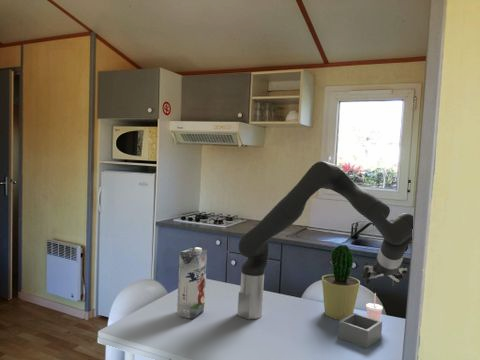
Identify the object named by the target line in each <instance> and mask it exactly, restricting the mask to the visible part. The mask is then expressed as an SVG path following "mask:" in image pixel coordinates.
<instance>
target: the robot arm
mask: <svg viewBox="0 0 480 360" xmlns="http://www.w3.org/2000/svg"><path fill="white" fill-rule="evenodd" d="M320 189H326V190H330V191H333V192H335V193H337V194H339V195H341V196H342V197H343V198H344V199H346V200H347V201H348V203H349V204H350V205H351V207H353V209H354V210H356V211H357V212H358V213H359V214H360V215H362V216H363V217H364V218H365V219H367V220H368V221H369V222H371V223H372V225H373V226H374V227H375V228H376V230H377V231H378V233H380V234H381V236H382V237H383V240H382V242H381V246H380V248H379V250H378V253H377V256H376V259H375V262H374V264H373V265H369V263H368V262H367V263H366V262H365V263H364V265H363V267H362V270H361V278H362V279H365V283H367V285H371V281H372V279H377V278H379V277H380V278H381V277H385V278H390V279H392V280H391V285H392V287H396V286H398V284H399V282H400V281H401V282H405V281H406V280H407V276H408V268H407V266H406V265H404V266H402V267H401V265H402V263H403V260H404V254H405V252H406V249H407V247H408V246H409V244H411V242H412V241H413V239H412V229H413V216H414V215H413V214H411V213H409V212H403V213H400V214H398V215H397V216H395V217H393V218H392V219H391V220H388V217H389V216H390V213H391V208H390V207H389V206H388V205H387V204H386V203H385V202H383V201H382V200H380V199H379V198H377V196H374V195H373V194H371V193H370V192H368V191H367V190H365V188H363V187H361V186H360V185H359V184H357V183H356V182H355V181H354V180H353V179H351V178H350V177H349V176H348V174H346V172H345V171H343V170H342V168H340V167H339V166H338V165H337V164H335V163H332V162H328V161H322V160H321V161H317V162H315V163H314V164H312V165H311V167H310V168H309V169H308V170H307V171H306V172H305V174H304V175H303V176H302V178H301V179H300V180H299V181H298V182H297V183H296V185H295V186H294V187H293V188H292V189H291V190H289V192H288V193H287V194H286V195H285V196H284V197H282V199H281V200H280V201H279V202H278V203H276V205H274V206H273V208H271V210H270V211H269V212H268V213H267V214H266V215H265V216H264V217H263V218H262V219H261V221H259V223H257V224H256V225H255V226H254V227H253V228H251V229H250V230H249V231H248V232H246V233H245V234H244V235H243V236H242V237H241V238H240V240H239V242H238V251H239V253H240V254H241V255H242V257H245V258H247V259H246V261H245V262H244V263H243V264H242V265H241V271H240V272H241V273H240V274H241V275H240V291H239V292H238V298H237V299H238V303H237V316H239V317H240V318H244V319H246V320H256V319H260V318H261V317H262V316H263V301H264V283H265V272H266V271H265V270H266V268H267V265H268V255H269V240H270V239H271V238H273V237H275V236H277V235H278V234H280V233H282V232H283V231H285V230H286V229H288V228H289V227H291V226H292V225H293V224H294V223H295V222H296V221H297V220H298V219H299V218H300V217H301V216H302V214H303V212H304V210H305V206H306V204H307V202H308V200H309V199H311V197H312V196H314V195H315V193H317V192H318V191H319V190H320ZM399 273H400V274H399Z"/></svg>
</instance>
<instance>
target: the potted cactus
mask: <svg viewBox="0 0 480 360" xmlns="http://www.w3.org/2000/svg"><path fill="white" fill-rule="evenodd" d="M330 252H331V255H330V260H329V261H330V262H329V263H330V265H331V268H333V269H332V270H330V271H331V272H332V273H333V274H326V275H325V274H324V275H322V276H321V285H322V294H323V307H324V314H325V316H327V317H328V316H329V318H330V317H331V318H330V319H333V318H334V320H338V319H339V321H340V320H342V319H344V318H346V317H348V316H349V315H351V314H353V313H355V312H354V310H355V306H356V304H357V303H356V302H357V298H358V294H359V288H360V284H361V281H360V280H359V279H358V278H355V277H352V276H350V275H351V270H352V268H353V266H354V257H353V256H354V255H353V251H351V249H350V247H349V245H345V244H343V245H342V244H339V245H338V244H337V245H336V247H334V248H333V250H332V251H330Z"/></svg>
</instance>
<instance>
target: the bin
mask: <svg viewBox="0 0 480 360" xmlns="http://www.w3.org/2000/svg"><path fill="white" fill-rule="evenodd" d="M337 330H338V332H337V333H338V334H337V338H339V339H341V340H344V341H346V342H350V343H351V344H353V345H357V346H359V347H362V348H365V349H368V348H370V347H371V346H372V345H373V344H375V343H376V342H377V341H379V340H380V339H382V331H383V321H381V320H380V321H378V320H375V319H372V318H369V317H367V316H365V315H362V314H359V313H357V312H353V314H351V315H349V316H348V317H346V318H344V319H342V320H339V321H338V329H337Z"/></svg>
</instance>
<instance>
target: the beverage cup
mask: <svg viewBox="0 0 480 360" xmlns="http://www.w3.org/2000/svg"><path fill="white" fill-rule="evenodd" d="M376 298H377V293H376V292H375V293H374V297H373V301H374V302H373V303H372V302H369V303H366V305H365V306H366V317H369V318H372V319H375V320H378V321H381V318H382V312H383V309H384V308H383V305H382V304H381V305H380V304H378V303H376V302H377V301H376Z"/></svg>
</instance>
